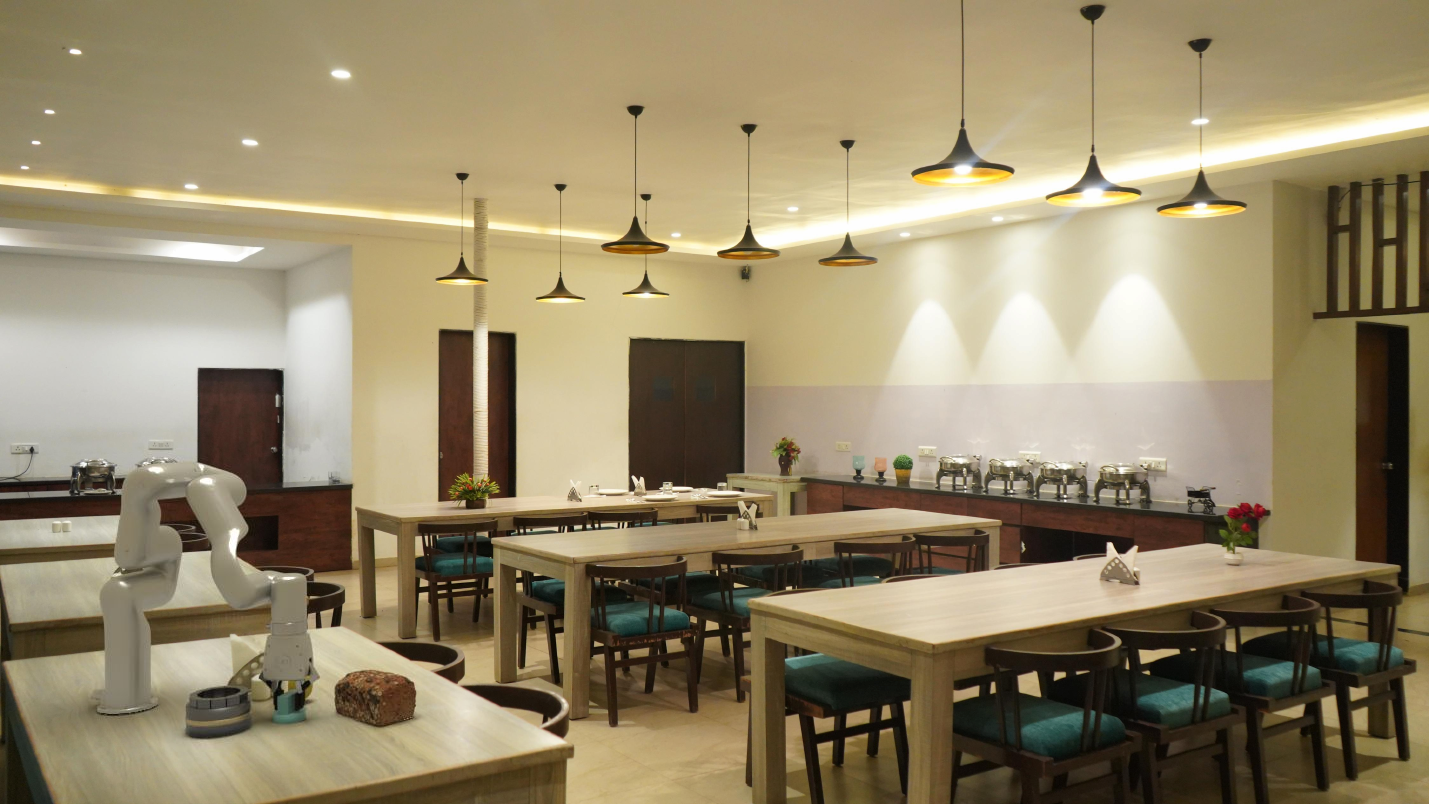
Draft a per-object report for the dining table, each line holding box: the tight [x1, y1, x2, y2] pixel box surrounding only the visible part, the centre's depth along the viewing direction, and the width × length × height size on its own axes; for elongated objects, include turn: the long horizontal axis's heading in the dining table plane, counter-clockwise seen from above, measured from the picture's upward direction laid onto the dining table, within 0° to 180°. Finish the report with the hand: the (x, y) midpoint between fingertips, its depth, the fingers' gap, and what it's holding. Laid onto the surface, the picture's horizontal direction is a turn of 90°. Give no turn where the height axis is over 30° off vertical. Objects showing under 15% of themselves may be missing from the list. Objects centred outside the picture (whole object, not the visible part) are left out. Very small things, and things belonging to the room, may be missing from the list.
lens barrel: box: [185, 685, 253, 739], centre depth 227 cm, size 13×13×8 cm
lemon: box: [287, 676, 314, 700], centre depth 247 cm, size 6×6×8 cm
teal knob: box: [272, 690, 307, 725], centre depth 234 cm, size 7×7×6 cm
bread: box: [334, 669, 417, 726], centre depth 236 cm, size 19×11×10 cm, turn 49°
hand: (289, 708), depth 234 cm, fingers open, 4 cm apart
